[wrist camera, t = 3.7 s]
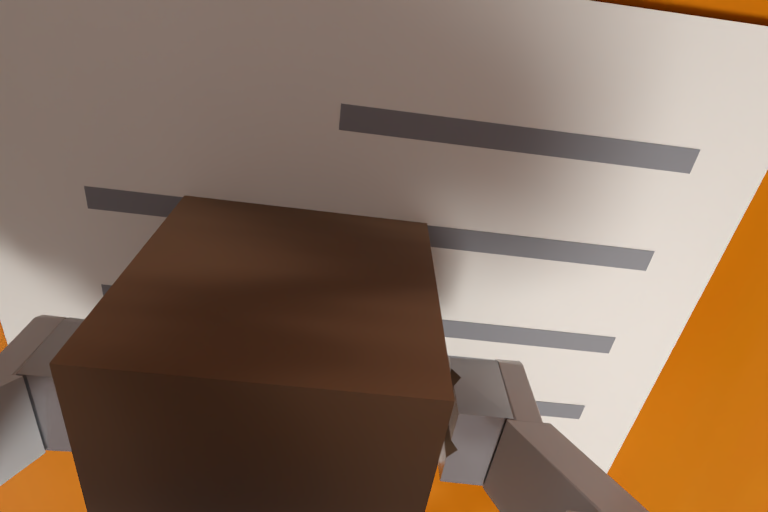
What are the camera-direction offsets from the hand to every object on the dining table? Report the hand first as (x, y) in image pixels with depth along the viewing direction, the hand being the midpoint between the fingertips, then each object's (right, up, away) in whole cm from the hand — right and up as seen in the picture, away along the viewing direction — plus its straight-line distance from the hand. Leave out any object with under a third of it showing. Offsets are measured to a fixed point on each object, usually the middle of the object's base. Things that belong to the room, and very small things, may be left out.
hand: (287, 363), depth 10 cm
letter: (+1, +2, +1) cm, 2 cm away
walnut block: (0, +1, +2) cm, 2 cm away
